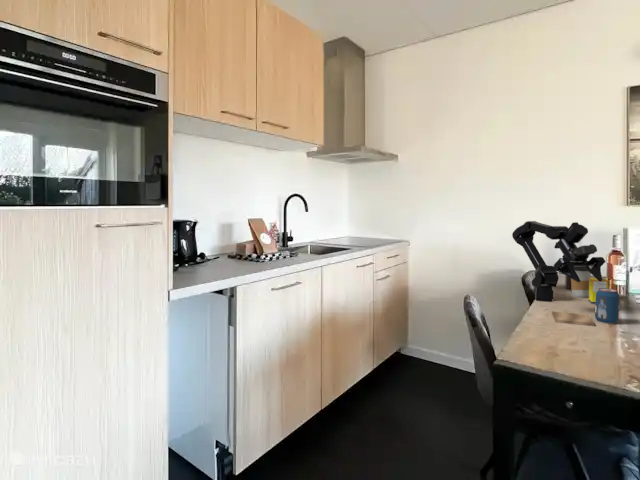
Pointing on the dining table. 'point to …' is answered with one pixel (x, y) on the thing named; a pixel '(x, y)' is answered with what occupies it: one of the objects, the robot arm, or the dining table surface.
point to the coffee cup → (581, 282)
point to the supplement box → (596, 287)
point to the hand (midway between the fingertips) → (590, 281)
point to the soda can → (607, 305)
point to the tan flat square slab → (572, 318)
